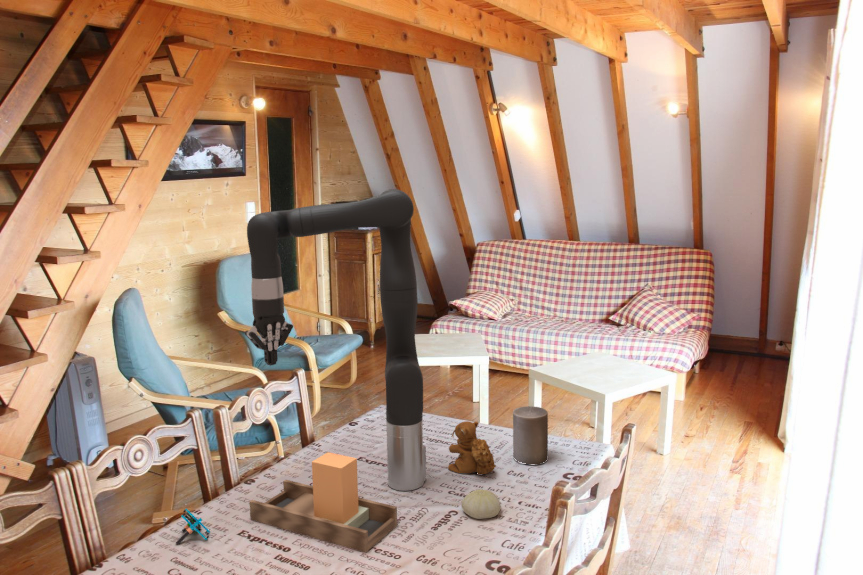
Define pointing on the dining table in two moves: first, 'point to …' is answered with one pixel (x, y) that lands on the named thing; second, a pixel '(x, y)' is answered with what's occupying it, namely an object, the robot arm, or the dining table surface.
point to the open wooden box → (298, 516)
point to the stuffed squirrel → (470, 451)
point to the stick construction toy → (192, 526)
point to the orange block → (335, 487)
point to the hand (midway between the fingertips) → (271, 364)
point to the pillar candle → (530, 435)
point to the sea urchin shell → (481, 504)
